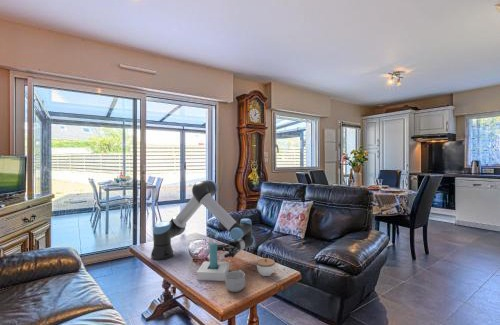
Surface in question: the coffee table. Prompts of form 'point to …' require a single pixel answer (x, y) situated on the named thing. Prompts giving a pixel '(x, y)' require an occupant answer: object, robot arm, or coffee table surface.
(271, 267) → the lidded jar
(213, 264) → the peg
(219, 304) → the coffee table surface
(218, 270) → the socket block
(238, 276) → the teacup
